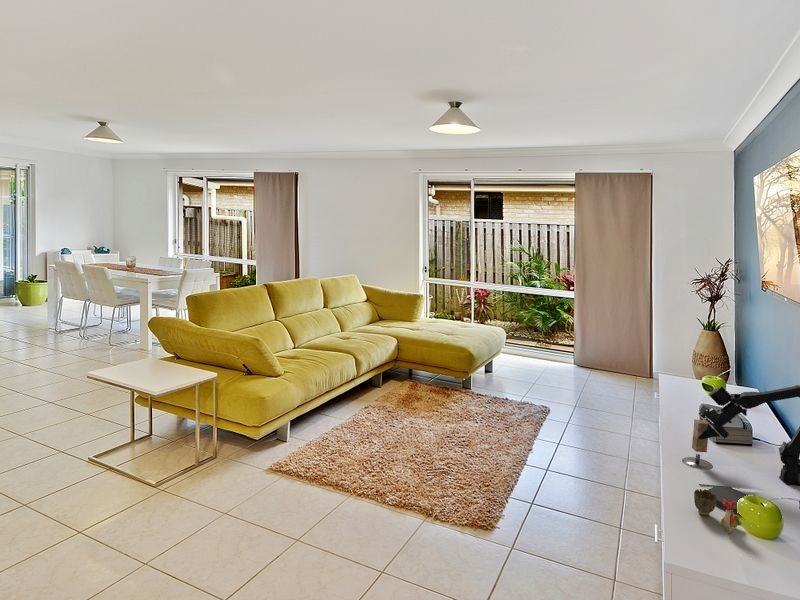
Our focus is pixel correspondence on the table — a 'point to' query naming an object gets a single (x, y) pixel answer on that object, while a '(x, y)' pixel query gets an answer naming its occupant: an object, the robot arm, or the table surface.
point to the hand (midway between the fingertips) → (697, 436)
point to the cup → (704, 501)
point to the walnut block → (698, 430)
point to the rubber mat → (712, 486)
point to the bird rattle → (730, 517)
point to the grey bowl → (697, 462)
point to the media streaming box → (726, 496)
